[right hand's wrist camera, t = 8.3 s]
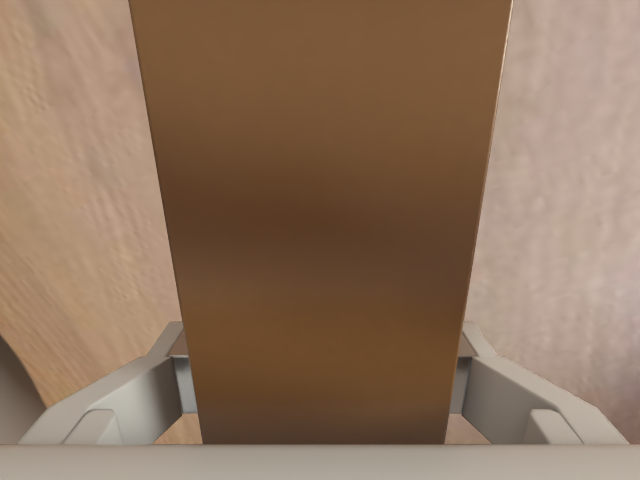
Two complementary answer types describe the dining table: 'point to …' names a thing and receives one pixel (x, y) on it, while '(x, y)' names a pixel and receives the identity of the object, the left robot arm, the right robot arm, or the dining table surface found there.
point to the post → (322, 204)
